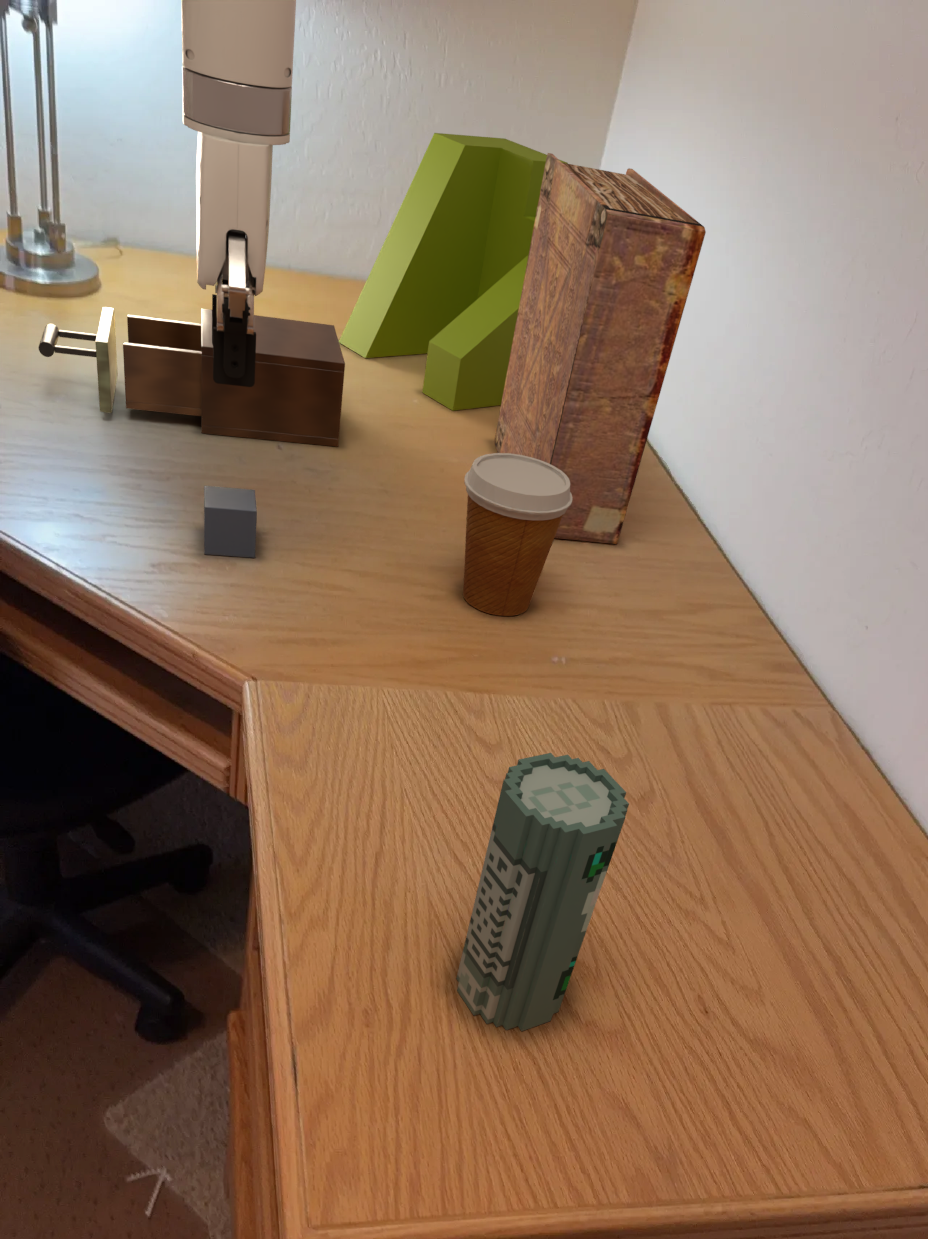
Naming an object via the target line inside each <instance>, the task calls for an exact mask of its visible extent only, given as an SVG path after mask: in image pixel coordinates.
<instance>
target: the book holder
mask: <svg viewBox="0 0 928 1239" xmlns="http://www.w3.org/2000/svg"><path fill="white" fill-rule="evenodd" d="M423 154H424V155H423V157H422V159H421V161H420V163H419V166H418V168H417V169H416V172H415V174H414V176H413V178H412V181H411V183H410V185H409V187H408V189H407V192H406V194H405V195H404V198H403V200H402V202H401V205H400V207H399V209H398V210H397V213H396V215H395V217H394V219H393V222H392V224H391V227H390V229H389V230H388V233H387V235H386V237H385V240H384V242H383V243H382V246H381V248H380V250H379V252H378V254H377V257H376V260H375V261H374V263H373V266H372V268H371V270H370V271H369V274H368V276H367V278H366V281H365V283H364V285H363V288H362V290H361V291H360V294H359V296H358V298H357V300H356V303H355V305H354V307H353V309H352V311H351V314H350V316H349V318H348V320H347V322H346V324H345V326H344V329H343V330H342V333H341V335H340V337H339V339H338V341H339V344H341V345H343V346H344V347H345V348H348V349H349V350H351V351H353V352H354V353H355V354H357V355H359V356H360V357H362V358H364V359H371V358H372V359H373V358H384V357H398V356H399V357H400V356H411V355H425V354H426V362H425V370H424V377H423V385H422V394H424V395H425V396H427V397H429V398H431V399H432V400H433V401H436V402H438V403H439V404H441V405H442V406H444V407H446V408H447V409H449V410H451V411H452V412H454V411H462V410H471V409H478V408H486V407H487V408H488V407H496V406H497V407H498V406H501V402H502V397H503V391H504V386H505V381H506V375H507V370H508V364H509V359H510V353H511V348H512V343H513V337H514V332H515V326H516V321H517V315H518V310H519V304H520V299H521V294H522V288H523V283H524V277H525V272H526V266H527V261H528V255H529V250H530V245H531V239H532V234H533V228H534V223H535V217H536V212H537V207H538V201H539V196H540V190H541V185H542V179H543V174H544V168H545V163H546V158H547V153H543V152H541V151H538V150H536V149H533V148H531V147H528V146H525V145H523V144H520V143H518V142H515V141H513V140H510V139H507V138H503V137H491V136H479V135H466V134H453V133H443V132H434V133H433V135H432V137H431V139H430V141H429V144H428V146H427V148H426V150H425V153H423ZM559 160H560V161H561V162H562V163H567V164H569V163H568V162H567V161H564V160H562V159H559Z"/></svg>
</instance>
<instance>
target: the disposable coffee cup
mask: <svg viewBox="0 0 928 1239" xmlns="http://www.w3.org/2000/svg"><path fill="white" fill-rule="evenodd" d="M464 486H465V491H466V493H467V503H466V523H465V542H464V544H465V546H464V547H465V548H464V566H463V567H464V568H463V585H462V586H463V587H462V588H463V589H462V596H463V599H464V600H465V602H467V603H468V604H469V605H470V606H471V607H473V608H475V609H477V610H479V611H481V612H482V613H486V614H489V615H494V616H499V617H500V616H502V617H512V616H518V615H521V614H524V613H525V612H526V611H527V610H528V609H529V607H530V605H531V601H532V600H533V597H534V593H535V590H536V588H537V586H538V583H539V580H540V578H541V575H542V572H543V571H544V570H543V569H544V567H545V564H546V562H547V558H548V556H549V554H550V551H551V549H552V546H553V543H554V540H555V538H554V537H555V535H556V532H557V529H558V527H559V524H560V521H561V518H562V516H563V514H565V512H566V510H567V508H568V507H570V505H571V503H572V498H573V497H572V494H571V492H570V480H569V478H568V477H567V475H566V474H565V473H563V472H562V471H561V470H559V469H558V468H556V467H555V466H553V465H551V464H549V463H546V462H544V461H541V460H538V459H535V458H532V457H528V456H524V455H518V454H511V453H498V452H493V453H485V454H483V455H480V456H477V457H476V458H475V459H474V460H473V462H472V464H471V467H470V469H469V470H468V471H467V472H465V475H464Z"/></svg>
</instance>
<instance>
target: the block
mask: <svg viewBox="0 0 928 1239" xmlns="http://www.w3.org/2000/svg"><path fill="white" fill-rule="evenodd" d="M257 524H258V507H257V496H256V490H255V489H249V488H241V487H240V488H238V487H227V486H217V485H204V486H203V554H204V555H207V556H208V555H209V556H222V557H235V558H236V557H237V558H238V557H239V558H250V559H256V550H257V549H256V548H257V527H258V526H257Z"/></svg>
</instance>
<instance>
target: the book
mask: <svg viewBox="0 0 928 1239" xmlns="http://www.w3.org/2000/svg"><path fill="white" fill-rule="evenodd" d="M546 155H547V158H546V163H545V168H544V174H543V179H542V185H541V190H540V196H539V201H538V207H537V212H536V217H535V223H534V228H533V234H532V239H531V245H530V250H529V255H528V261H527V266H526V272H525V277H524V283H523V288H522V294H521V299H520V304H519V310H518V315H517V321H516V326H515V332H514V337H513V343H512V348H511V353H510V359H509V364H508V370H507V375H506V381H505V386H504V391H503V397H502V402H501V405H500V408H499V414H498V419H497V423H496V429H495V430H496V431H495V435H494V447H495V449H496V451H497V453H511V454H518V455H524V456H528V457H532V458H535V459H538V460H541V461H544V462H546V463H549V464H551V465H553V466H555V467H556V468H558V469H559V470H561V471H562V472H563V473H565V474H566V475H567V477H568V478H569V480H570V492H571V494H572V497H573V498H572V503H571V505H570V507H568V508H567V510H566V512H565V514H563V516H562V518H561V521H560V524H559V527H558V529H557V532H556V535H555V537H554V539H562V540H570V541H582V542H591V543H592V542H593V543H601V544H612V545H617V544H618V543H619V539H620V536H621V533H622V529H623V526H624V522H625V519H626V514H627V512H628V507H629V504H630V501H631V498H632V497H631V496H632V495H633V494H632V493H633V491H634V486H635V483H636V480H637V476H638V472H639V469H640V465H641V461H642V459H643V455H644V451H645V448H646V444H647V441H648V437H649V434H650V430H651V427H652V423H653V420H654V416H655V413H656V410H657V406H658V402H659V398H660V394H661V391H662V388H663V385H664V381H665V377H666V374H667V370H668V367H669V364H670V360H671V356H672V353H673V349H674V346H675V342H676V339H677V336H678V331H679V329H680V324H681V321H682V317H683V314H684V311H685V307H686V303H687V300H688V296H689V294H690V293H689V292H690V290H691V286H692V283H693V279H694V275H695V272H696V268H697V264H698V261H699V257H700V254H701V252H702V247H703V244H704V240H705V236H706V233H707V231H706V227H705V226H704V225H703V224H702V223H700V221H697V220H696V219H695V218H694V217H693V216H692V215H690V214H689V213H688V212H687V211H686V210H684V209H683V208H682V207H680V206H679V205H678V204H677V203H676V202H674V201H673V200H672V199H670V198H669V197H668V196H667V195H666V194H664V193H663V192H662V191H661V190H659V189H658V188H657V187H655V186H654V184H652V183H651V182H650V181H648V180H647V179H646V178H644V177H643V176H642V175H641V174H640V173H638V172H637V171H636V170H635V169H634V168H630V167H628V168H627V169H626V171H625V173H620V172H615V171H609V170H604V169H599V168H593V167H587V166H583V165H578V164H573V163H572V164H571V163H568V162H567V163H568V164H567V163H562V162H561V161H560V160H561V159H559V158H558V157H557V156H555V154H553V153H551V152H547V153H546Z"/></svg>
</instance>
